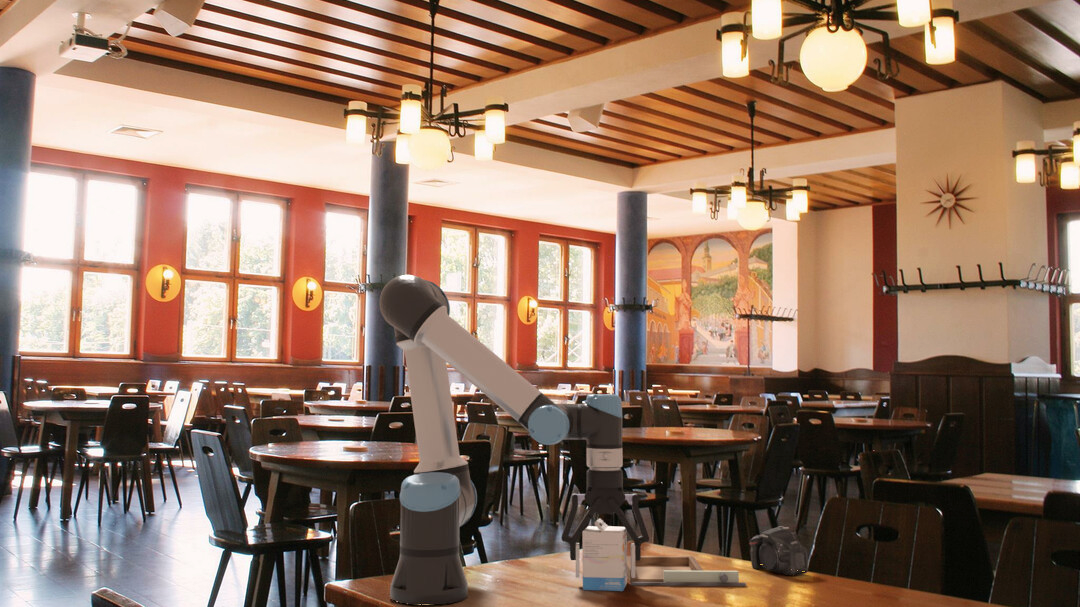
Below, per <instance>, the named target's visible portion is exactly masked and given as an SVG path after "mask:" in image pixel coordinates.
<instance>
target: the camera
mask: <svg viewBox="0 0 1080 607" xmlns="http://www.w3.org/2000/svg"><path fill="white" fill-rule="evenodd" d="M749 545H750V560H751V568H752V569H753V570H767V571H768V572H769V571H770V572H773V573H777V574H780V575H785V576H797V575H803V574H807V573H808V571H809V562H808V550H807V547H805V546H803V545H802V544H801V542H800V541H799V540H798V534H796V533H794V532H792V531H791V530H790V527H788V526H787V527H786V526H785V527H784V526H783V525H781V526H780V525H779V526H777V527H774V528H773V527H772V528H770V529H768V530H765V531H763V532H761V533H760V534H757V535H755V536H753V537H752V538H751V539H750V540H749ZM760 564H763V565H760ZM791 569H792V570H791ZM797 570H798V571H797ZM802 571H805V572H802Z"/></svg>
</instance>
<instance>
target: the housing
mask: <svg viewBox="0 0 1080 607" xmlns="http://www.w3.org/2000/svg"><path fill="white" fill-rule="evenodd" d="M664 570H689V571H704V569H703V568H702V566H701V565H700V563H699V562H698V561H697V560H696V558H695V557H694V556H692V555H691V556H690V555H689V556H688V555H686V556H685V555H683V556H682V555H681V556H680V555H679V556H678V555H677V556H676V555H675V556H673V555H669V556H668V555H667V556H666V555H641V558H640V561H639V560H635V578H632V577H631V555H627V579H628V581H629V583H630V586H632V587H633V586H637V587H638V586H639V587H641V586H644V587H645V586H647V587H648V586H650V587H651V586H652V587H653V586H654V587H657V586H660V587H667V586H668V587H670V586H671V587H672V586H673V587H674V586H676V587H746V586H747V583H746V582H739V583H717V582H664Z"/></svg>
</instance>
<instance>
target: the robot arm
mask: <svg viewBox="0 0 1080 607" xmlns="http://www.w3.org/2000/svg"><path fill="white" fill-rule="evenodd" d="M450 306H451V305H450V300H449V299H448V296H447V295H446V293H445V291H443V289H442V288H441V287H440V286H439V285H437V284H436V283H435V282H432V281H430V280H426V279H423V278H422V277H420V276H416V275H412V274H404V275H399V276H396V277H394V278H392V279H390V280H389V281H388V282H387V283H386V284H385V285H384V287H383V288H382V290H381V293H380V296H379V310H380V313H381V315H382V317H383V318H384V320H385V322H387V323H388V324H389V325H390V326H392V327H393V329H394V336H395V342H396V343H395V344H396V346H397V347H398V348H400V349H401V350H402V351H403V352H404V356H405V365H406V370H407V377H408V378H407V379H408V384H409V386H408V387H409V393H410V394H409V395H410V401H411V408H412V409H411V410H412V415H413V423H414V429H415V430H414V431H415V437H416V445H417V452H418V459H419V462H418V464H417V466H416V467H415V469H414V470H413V475H409V476H407V477H406V478H405V479H403V481H402V482H401V486H400V493H399V504H400V508H399V509H400V512H399V515H400V516H399V520H400V521H399V559H398V562H397V565H396V568H395V571H394V575H393V577H392V579H391V584H390V588H389V591H390V592H389V594H390V595H389V598H390V597H391V598H392V599H393V600H395V601H398V602H402V603H408V604H421V605H420V606H423V605H422V604H442V605H447V603H449V604H453V603H457V602H460V601H464V600H465V599H466V598H467V597H469V596H468V594H469V588H468V587H469V585H468V581H467V577H466V574H465V570H464V567H463V564H462V561H461V557H460V527H462V526H464V525H465V524H466V523H468V521H470V519H471V517H472V516H473V514H474V512H475V510H476V507H477V503H478V494H477V493H478V492H477V489H476V487H475V484H474V483H473V481H472V480H471V476H470V470H469V462H468V461H467V460H466V459H465V458H463V457H462V456H461V455H460V449H459V448H460V447H459V443H458V442H459V441H458V435H457V428H456V423H455V422H456V421H455V415H454V408H453V407H454V406H453V401H452V395H451V394H452V392H451V386H450V380H449V379H450V378H449V371H448V365H449V366H450V367H451V368H453V369H454V370H455V371H456V372H457V373H458V374H460V375H461V376H462V377H463V378H465V379H466V380H467V381H468V382H469V383H471V385H473V386H474V387H475V388H477V389H478V390H479V391H480V392H482V393H483V394H484V395H485V396H486V397H487V398H488V399H489V400H491V401H492V402H493V403H494V404H496V405H497V406H499V408H501V409H502V410H503V411H504V412H506V413H507V414H508V415H509V416H510V417H511V418H513V419H514V420H515V421H517V423H518V424H520V425H521V426H522V428H524V429H525V430H526V431H528V432H529V435H530V438H531V439H533V440H535V441H536V442H537V443H539V444H541V445H543V446H544V445H546V446H549V445H551V446H552V445H556V444H559V443H560V442H562V441H564V440H586V466H587V467H588V469H587V470H586V491H585V493H576V492H574V493H572V494H571V506H570V509H569V510H570V511H568V516H567V518H566V521H565V524H564V528H563V531H562V534H561V541H562V542H565V543H567V544H569V557H570V561H575V579H578V578H581V577H580V542H578V540H579V539H580V537H581V536H582V531H584V530H585V529H586V528H587V527H588V524H589V523H590V521H591V520H592V518H593V516H594V515H595V514H597V515H604V514H607V515H614V514H616V516H617V517H618V519H619V520H620V522H621V523H622V525H623V527H625V528H626V530H627V534H629V536H630V537H631V539H632V540H633V543H632V542H631V543H630V556H631V577H632V578H635V560H639V561H640V558H641V556H642V555H641V551H642V550H641V549H642V548H641V545H642V544H644V543H648V542H649V541H650V536H649V533H648V531H647V527H646V525H645V522H644V518H643V516H642V513H641V510H640V508H639V496H638V494H637V493H635V492H633V493H632V494H631V493H630V494H629V493H628V494H627V493H625V492H624V486H623V485H624V473H623V472H624V471H623V469H621V468H622V467H623V465H624V464H623V462H624V461H623V405H622V402H623V401H622V398H621V397H620V396H619V395H618V394H613V393H612V394H611V393H610V394H608V393H607V394H597V393H596V394H594V393H593V394H587V396H586V398H585V399H586V400H585V403H555V402H554V401H553V400H551V399H550V398H549V397H548V396H547V395H545V394H544V393H543V392H542V391H541V390H539V389H538V388H537V387H535V386H534V385H533V384H532V383H530V381H529V380H527V379H526V378H525V377H523V376H522V375H521V374H520V373H519V372H517V371H516V370H515V369H513V367H511V366H510V364H508V363H507V362H505V361H504V360H503V359H502V358H501V357H499V356H498V355H497V354H495V352H493V351H492V350H491V349H490V348H489V347H487V346H486V345H485V344H484V343H482V342H481V341H480V340H479V339H478V338H477V337H475V336H474V335H473V334H472V333H470V331H468V330H467V329H466V328H464V326H462V325H461V324H460V323H458V322H457V321H456V320H455V319H453V317H452V316H450V314H451V307H450ZM584 500H585V501H586V503H587V504H588V506H589V507H588V509H587V510H586V513H585V514H584V516H583V518H582V519H581V520H580V523H579V524H578V526H577V527H576V528H575V530H574V531H573V534H572V535H570V532H571V529H572V526H573V522H574V520H575V517H576V514H577V511H578V508H579V506H580V505H581V504H582V502H583V501H584ZM625 501H627V503H628V505H630V506H631V507H632V508H631V509H632V511H633V513H634V516H635V520H636V522H637V525H638V530H639V531H640V535H639V536H638V534H637V532H636V531H635V530H634V527H633V526H632V525H631V523H630V522H629V520H628V519H627V517H626V515H625V513H624V512H623V510H622V509H621V506H622V505H623V503H624V502H625ZM391 598H390V599H391ZM393 600H392V601H393ZM395 601H394V602H395ZM398 602H397V603H398ZM402 603H401V604H402ZM408 604H407V605H408Z"/></svg>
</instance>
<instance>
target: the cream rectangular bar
mask: <svg viewBox="0 0 1080 607" xmlns="http://www.w3.org/2000/svg"><path fill="white" fill-rule="evenodd" d="M739 573H740V572H739V571H738V570H703V571H689V570H664V582H717V583H740V581H739V580H740V579H739V577H740V576H739V575H740V574H739Z"/></svg>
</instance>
